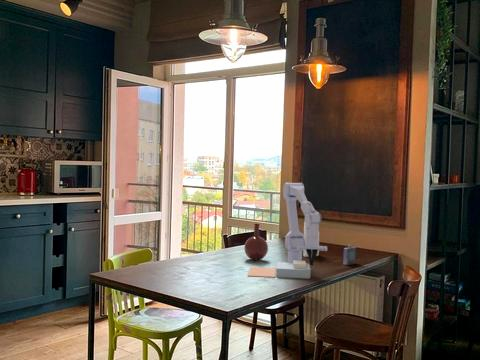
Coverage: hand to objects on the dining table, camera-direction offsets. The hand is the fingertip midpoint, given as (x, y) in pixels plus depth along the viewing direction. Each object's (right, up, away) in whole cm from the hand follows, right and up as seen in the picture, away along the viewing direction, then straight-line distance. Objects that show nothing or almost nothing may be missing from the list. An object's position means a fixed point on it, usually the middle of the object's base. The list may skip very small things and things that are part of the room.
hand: (311, 264), depth 233 cm
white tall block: (+7, -4, +51) cm, 51 cm away
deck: (-9, -5, +1) cm, 10 cm away
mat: (-24, -4, +2) cm, 24 cm away
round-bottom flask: (-26, -3, +33) cm, 42 cm away
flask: (+25, -5, +29) cm, 38 cm away
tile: (-6, -1, +1) cm, 6 cm away
